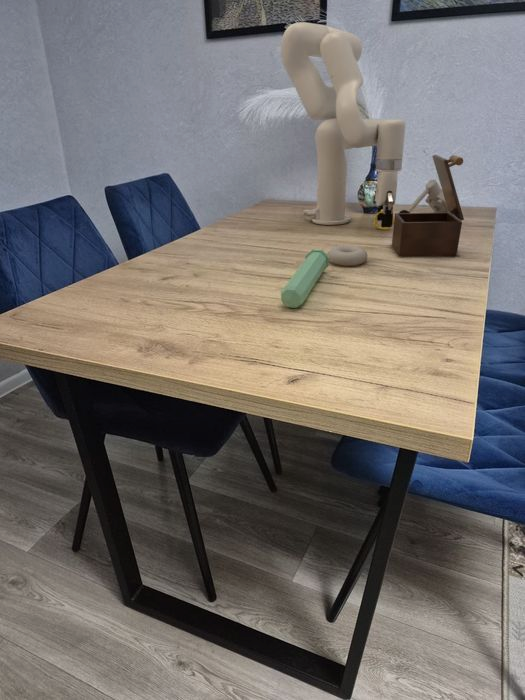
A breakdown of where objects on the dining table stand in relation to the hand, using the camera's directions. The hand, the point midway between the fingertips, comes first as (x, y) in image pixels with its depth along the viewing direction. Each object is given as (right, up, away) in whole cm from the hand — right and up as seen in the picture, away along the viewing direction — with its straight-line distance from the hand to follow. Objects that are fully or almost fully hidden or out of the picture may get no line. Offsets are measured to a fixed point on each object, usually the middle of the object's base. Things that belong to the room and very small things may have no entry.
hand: (384, 223), depth 148 cm
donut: (-17, -17, -28) cm, 37 cm away
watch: (0, -2, +1) cm, 2 cm away
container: (-29, -27, -44) cm, 59 cm away
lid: (+8, +1, -29) cm, 30 cm away
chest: (+5, -13, -21) cm, 25 cm away
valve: (+17, +4, +10) cm, 20 cm away
